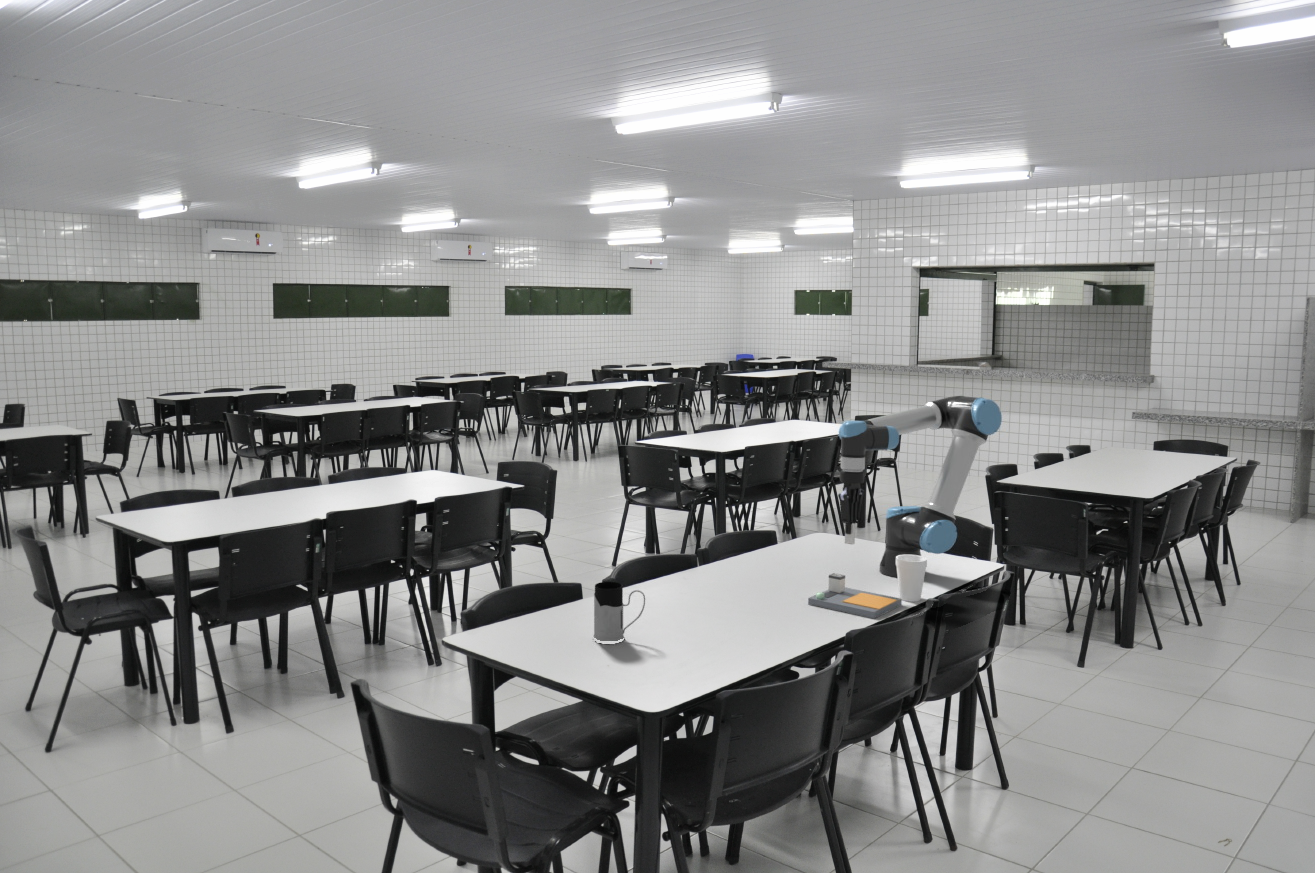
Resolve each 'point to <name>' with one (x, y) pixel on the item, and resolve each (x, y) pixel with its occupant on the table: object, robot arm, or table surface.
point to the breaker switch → (836, 583)
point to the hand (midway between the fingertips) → (849, 543)
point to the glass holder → (610, 611)
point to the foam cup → (910, 576)
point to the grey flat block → (855, 602)
